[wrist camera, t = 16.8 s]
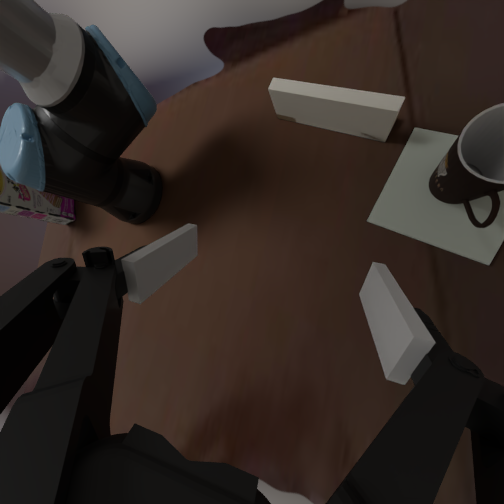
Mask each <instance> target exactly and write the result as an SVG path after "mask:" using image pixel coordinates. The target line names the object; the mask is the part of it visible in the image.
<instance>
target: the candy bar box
mask: <svg viewBox="0 0 504 504" xmlns="http://www.w3.org/2000/svg"><path fill="white" fill-rule="evenodd" d="M0 212H2V213H6V214H12V215H16V216H22V217H27V218H32V219H37V220H43V221H48V222H53V223H58V224H63V225H67V224H69V223H71V222H73V221H75V220H76V218H75V207H74V200H73V199H69V198H65V197H62V196H58V195H55V194H51V193H47V192H44V191H43V192H41V191H38V190H37V189H34V188H31V187H28V186H25V185H22V184H19V183H16V182H14V181H13V180H11V179H10V178H8V177H7V176H6V174H5V173H4V172H3V170H2V168H1V165H0Z"/></svg>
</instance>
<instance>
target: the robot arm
mask: <svg viewBox="0 0 504 504" xmlns="http://www.w3.org/2000/svg"><path fill="white" fill-rule="evenodd" d="M85 29H86V31H85V30H84V29H82V28H81V27H80V26H79V25H78V24H77V23H76V22H75V21H74V20H73V19H72V18H70V17H69V16H67V15H64V14H53V13H48V12H46V11H45V10H44V9H42V8H41V7H40V6H39V5H38V4H37V3H36V2H35V1H34V0H0V70H1V71H3V72H5V73H6V74H8V75H10V76H11V77H13V78H15V79H16V80H18V81H19V82H20V84H21V86H22V88H23V90H24V91H25V93H26V95H27V97H28V98H29V99H30V100H31V101H32V102H34V103H35V104H37V106H36V107H35V108H34V109H31V108H30V107H29V106H28V105H23V104H20V103H14V104H13V105H12V106H10V107H9V108H8V109H7V111H6V113H5V115H4V117H3V120H2V123H1V127H0V165H1V168H2V170H3V172H4V173H5V174H6V176H7V177H8V178H10V179H11V180H13V181H14V182H16V183H19V184H22V185H25V186H28V187H31V188H34V189H37V190H38V191H41V192H43V191H44V192H47V193H51V194H55V195H58V196H62V197H65V198H69V199H73V200H76V201H80V202H84V203H87V204H91V205H94V206H98V207H101V208H102V209H104V210H105V211H107V212H108V213H110V214H112V215H113V216H115V217H116V218H118V219H119V220H122V221H124V222H128V223H133V224H138V223H141V222H144V221H146V220H147V219H148V218H150V217H151V216H152V214H153V213H154V212H155V210H156V209H157V207H158V205H159V203H160V199H161V195H162V182H161V178H160V176H159V174H158V172H157V171H156V170H155V169H154V168H152V167H151V166H149V165H147V164H146V163H143V162H141V161H136V160H131V159H126V158H121V157H120V155H121V154H122V153H123V152H124V151H125V150H126V148H127V147H128V146H129V145H130V144H131V143H132V141H133V140H134V139H135V138H136V137H137V136H138V134H139V133H140V132H141V131H142V130H143V129H144V127H147V125H148V122H149V121H150V119H151V118H152V117H153V115H154V114H155V112H156V102H155V100H154V98H153V97H152V95H151V94H150V93H149V92H148V90H147V89H146V88H145V86H144V85H143V84H142V83H141V81H140V80H139V79H138V77H137V76H136V75H135V74H134V73H133V71H132V70H131V69H130V67H129V66H128V65H127V64H126V62H125V61H124V60H123V59H122V57H121V56H120V55H119V53H118V52H117V51H116V50H115V48H114V47H113V46H112V45H111V43H110V42H109V41H108V40H107V39H106V37H105V36H104V35H103V34H102V32H101V31H100V30H99V28H98V27H97V26H95V25H91V26H90V27H89V26H87V27H86V28H85ZM82 255H83V258H84V262H85V265H86V267H76V264H75V261H74V259H71V258H58V259H53V260H51V261H48V262H46V263H44V264H43V265H42V266H40V267H39V268H38V269H36V270H35V271H34V272H32V273H31V274H30V275H28V276H27V277H26V278H24V279H23V280H22V281H20V282H19V283H18V284H16V285H15V286H14V287H12V288H11V289H10V290H8V291H7V292H6V293H4V294H3V295H2V296H0V414H1V413H2V411H3V410H4V409H5V407H6V406H7V405H8V403H9V402H10V401H11V399H12V398H13V397H14V396H15V394H16V393H17V392H18V390H19V389H20V388H21V386H22V385H23V384H24V382H25V381H26V380H27V378H28V377H29V376H30V374H31V373H32V372H33V370H34V369H35V368H36V367H37V365H38V364H39V363H40V361H41V360H42V359H43V357H44V356H45V355H46V353H47V352H48V351H49V349H50V348H51V347H52V349H51V351H50V353H49V356H48V358H47V360H46V363H45V365H44V367H43V370H42V372H41V374H40V377H39V379H38V381H37V384H36V386H35V388H34V390H33V391H32V392H29V393H25V394H22V395H21V396H20V397H19V398H18V399H17V400H16V402H15V403H14V405H13V407H12V409H11V411H10V413H9V415H8V417H7V419H6V421H5V423H4V426H3V428H2V430H1V432H0V504H271V503H270V502H269V501H268V500H267V498H266V497H265V496H264V495H263V494H262V493H261V492H260V491H259V490H258V489H257V485H258V479H259V478H258V477H256V476H254V475H251V474H249V473H247V472H245V471H242V470H240V469H238V468H235V467H233V466H231V465H229V464H226V463H215V462H198V461H189V460H187V459H186V458H184V457H183V456H182V455H181V454H180V453H179V452H178V451H177V450H176V449H175V448H174V447H173V446H172V445H171V444H170V443H169V442H168V441H167V440H166V439H165V438H164V437H163V436H162V435H160V434H158V433H156V432H153V431H151V430H149V429H146V428H144V427H142V426H140V425H137V424H134V425H133V427H132V428H131V430H130V431H129V433H122V434H115V435H110V412H111V404H112V395H113V386H114V378H115V369H116V361H117V352H118V343H119V335H120V326H121V317H122V309H123V297H122V296H123V295H125V294H126V293H127V292H128V297H129V301H132V302H136V303H139V304H141V303H142V302H143V301H145V300H146V299H147V298H148V297H149V296H150V295H152V294H153V293H154V292H155V291H156V290H158V289H159V288H160V287H161V286H162V285H163V284H165V283H166V282H167V281H168V280H169V279H170V278H172V277H173V276H174V275H175V274H176V273H177V272H179V271H180V270H181V269H182V268H183V267H185V266H186V265H187V264H188V263H189V262H190V261H192V260H193V259H194V258H195V257H196V256H197V225H194V224H189V223H188V224H186V225H184V226H183V227H181V228H179V229H177V230H175V231H173V232H171V233H170V234H168V235H166V236H164V237H162V238H160V239H158V240H156V241H155V242H153V243H151V244H149V245H146V246H142V247H140V248H138V249H136V250H135V251H132V252H130V254H129V253H128V254H126V255H124V256H123V257H121V258H119V259H117V260H114V255H113V251H112V249H111V248H109V247H95V248H91V249H88V250H86V251H84V252H83V253H82ZM359 295H360V299H361V302H362V305H363V308H364V311H365V314H366V317H367V321H368V324H369V327H370V330H371V333H372V336H373V339H374V342H375V346H376V349H377V352H378V355H379V358H380V361H381V364H382V368H383V371H384V374H385V377H386V379H387V380H390V381H393V382H396V383H400V384H403V385H405V384H406V383H407V381H408V380H409V378H410V377H411V378H412V380H413V382H414V384H415V386H414V387H413V389H412V390H411V391H410V393H409V394H408V395H407V397H406V398H405V399H404V401H403V402H402V403H401V405H400V406H399V407H398V409H397V410H396V411H395V413H394V414H393V415H392V417H391V418H390V419H389V421H388V422H387V423H386V424H385V426H384V427H383V428H382V430H381V431H380V432H379V434H378V435H377V436H376V438H375V439H374V440H373V442H372V443H371V444H370V446H369V447H368V448H367V450H366V451H365V452H364V454H363V455H362V456H361V458H360V459H359V460H358V462H357V463H356V464H355V466H354V467H353V468H352V470H351V471H350V472H349V474H348V475H347V476H346V477H345V479H344V480H343V481H342V483H341V484H340V485H339V487H338V488H337V489H336V491H335V492H334V493H333V495H332V496H331V497H330V499H329V500H328V501H327V503H326V504H433V502H434V499H435V497H436V495H437V492H438V490H439V487H440V485H441V483H442V480H443V478H444V475H445V473H446V471H447V468H448V466H449V464H450V461H451V459H452V456H453V454H454V452H455V449H456V447H457V444H458V442H459V440H460V437H461V435H462V432H463V430H464V428H465V427H467V428H469V429H470V430H471V441H472V453H473V465H474V478H475V490H476V502H477V504H504V387H503V386H501V385H499V384H497V383H495V382H493V381H491V380H488V379H486V378H484V375H483V373H482V372H481V370H480V369H479V368H478V367H477V366H476V365H475V364H474V363H473V362H471V361H470V360H468V359H467V358H466V357H464V356H462V355H460V354H458V353H455V352H453V350H452V349H451V348H450V346H449V345H448V343H447V342H446V340H445V339H444V338H443V336H442V335H441V333H440V332H438V329H437V328H436V326H434V324H433V322H432V321H431V319H430V318H429V316H427V315H426V314H425V313H424V312H423V311H421V310H420V309H418V308H414V307H412V305H411V304H410V302H409V300H408V299H407V297H406V296H405V294H404V293H403V291H402V290H401V288H400V287H399V285H398V283H397V282H396V280H395V279H394V277H393V276H392V274H391V273H390V271H389V270H388V268H387V266H386V265H385V264H381V263H376V262H373V263H372V265H371V268H370V270H369V272H368V275H367V277H366V279H365V282H364V284H363V286H362V289H361V291H360V293H359ZM53 297H54V299H53ZM52 345H53V346H52Z"/></svg>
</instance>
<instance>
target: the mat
mask: <svg viewBox="0 0 504 504" xmlns="http://www.w3.org/2000/svg"><path fill="white" fill-rule="evenodd" d="M457 137H458V136H457V135H452V134H446V133H441V132H436V131H431V130H426V129H420V128H414V130H413V132H412V134H411V136H410V138H409V140H408V142H407V144H406V146H405V148H404V150H403V151H402V153H401V155H400V157H399V159H398V161H397V163H396V165H395V167H394V169H393V171H392V173H391V175H390V177H389V179H388V181H387V183H386V185H385V186H384V188H383V190H382V192H381V194H380V196H379V198H378V200H377V202H376V204H375V206H374V208H373V210H372V212H371V214H370V216H369V218H368V220H367V222H370V223H372V224H375V225H378V226H381V227H383V228H386V229H389V230H392V231H394V232H397V233H400V234H403V235H405V236H408V237H411V238H414V239H416V240H419V241H422V242H425V243H427V244H430V245H433V246H436V247H438V248H441V249H444V250H447V251H449V252H452V253H455V254H458V255H460V256H463V257H466V258H469V259H471V260H474V261H477V262H480V263H482V264H485V265H490V263H491V262H492V260H493V258H494V256H495V254H496V253H497V251H498V249H499V247H500V246H501V244H502V242H503V240H504V190H503V191H500V192H498V195H499V198H500V208H499V212H498V214H497V217H496V219H495V220H494V222H493V223H492V224H491V225H489V226H488V227H486V228H477V227H475V226H474V225H473V224H472V223H471V221H470V220H469V218H468V215H467V213H466V210H465V207H464V204H463V203H461V204H448V203H444V202H441V201H439V200H438V199H436V198H435V197H434V196H433V195H432V194H431V192H430V190H429V179H430V177H431V175H432V173H433V172H434V170H435V169H436V168H437V166H438V165H439V163H440V162H441V160H442V159H443V158H444V156H445V155H446V153H447V152H448V150H449V149H450V148H451V146H452V145H453V143H454V142H455V140H456V139H457ZM469 202H470V205H471V208H472V210H473V213H474V215H475V218H476V219H477V220H478V221H479V222H480V223H483V222H484V221H485V220H486V219H487V218H488V216H489V214H490V212H491V208H492V201H491V198H490V197H489V196H484V197H481V198H478V199H475V200H472V201H469Z"/></svg>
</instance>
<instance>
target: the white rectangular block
mask: <svg viewBox="0 0 504 504" xmlns="http://www.w3.org/2000/svg"><path fill="white" fill-rule="evenodd" d="M268 90H269V93H270V96H271V99H272V102H273V105H274V108H275V111H276V114H277V117H278V118H279V119H283V120H288V121H292V122H297V123H301V124H305V125H310V126H314V127H319V128H323V129H328V130H332V131H336V132H341V133H345V134H350V135H354V136H359V137H363V138H368V139H372V140H376V141H381V142H385V141H386V139H387V137H388V135H389V133H390V131H391V129H392V127H393V125H394V123H395V121H396V119H397V117H398V115H399V114H398V113H399V111H400V108H401V106H402V104H403V101H404V99H405V97H401V96H394V95H388V94H381V93H374V92H367V91H361V90H354V89H347V88H340V87H334V86H327V85H320V84H313V83H306V82H300V81H293V80H286V79H279V78H273V80H272V82H271V84H270V86H269V88H268Z"/></svg>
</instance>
